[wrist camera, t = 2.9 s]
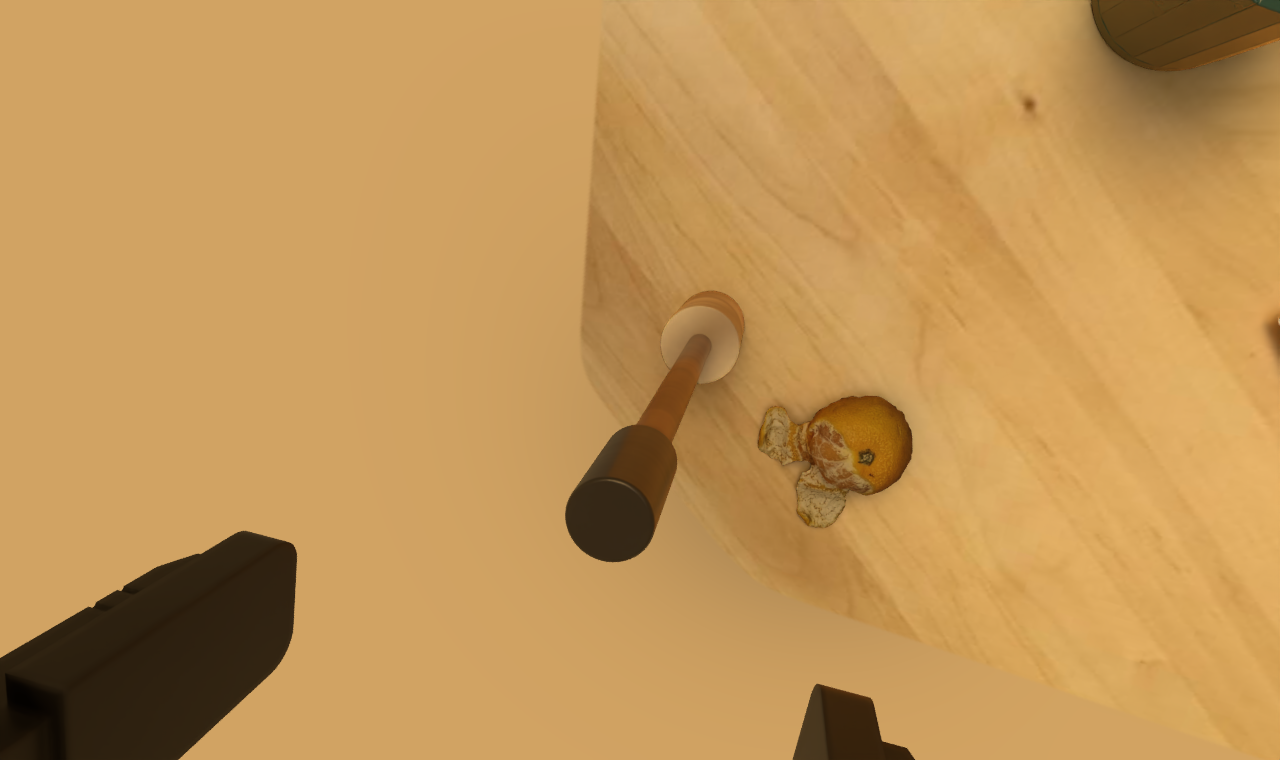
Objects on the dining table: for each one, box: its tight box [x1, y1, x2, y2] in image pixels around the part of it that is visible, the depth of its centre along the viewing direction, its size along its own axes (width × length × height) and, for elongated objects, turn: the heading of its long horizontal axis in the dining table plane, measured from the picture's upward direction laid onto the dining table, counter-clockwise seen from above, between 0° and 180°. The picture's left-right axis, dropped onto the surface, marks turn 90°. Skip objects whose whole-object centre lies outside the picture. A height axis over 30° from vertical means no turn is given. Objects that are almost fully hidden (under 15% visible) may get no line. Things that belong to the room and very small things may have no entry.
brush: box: [565, 291, 744, 562], centre depth 29 cm, size 4×4×28 cm
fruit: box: [758, 396, 912, 528], centre depth 40 cm, size 8×8×4 cm
